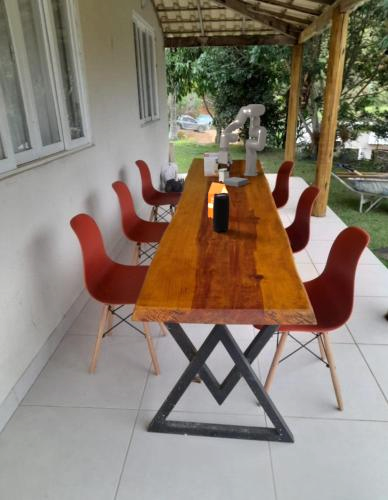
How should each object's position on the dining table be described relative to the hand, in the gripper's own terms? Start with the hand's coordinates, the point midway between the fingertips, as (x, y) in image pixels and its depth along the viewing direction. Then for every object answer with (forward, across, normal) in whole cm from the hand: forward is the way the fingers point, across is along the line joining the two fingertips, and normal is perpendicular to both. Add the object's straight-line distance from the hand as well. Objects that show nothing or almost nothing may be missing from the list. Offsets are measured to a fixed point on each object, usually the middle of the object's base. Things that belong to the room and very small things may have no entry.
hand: (223, 170), depth 311 cm
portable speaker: (+12, -76, +102) cm, 128 cm away
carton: (+9, 0, -1) cm, 9 cm away
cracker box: (+9, +21, -11) cm, 25 cm away
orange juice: (+11, -60, +84) cm, 104 cm away
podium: (+9, -15, +3) cm, 18 cm away
